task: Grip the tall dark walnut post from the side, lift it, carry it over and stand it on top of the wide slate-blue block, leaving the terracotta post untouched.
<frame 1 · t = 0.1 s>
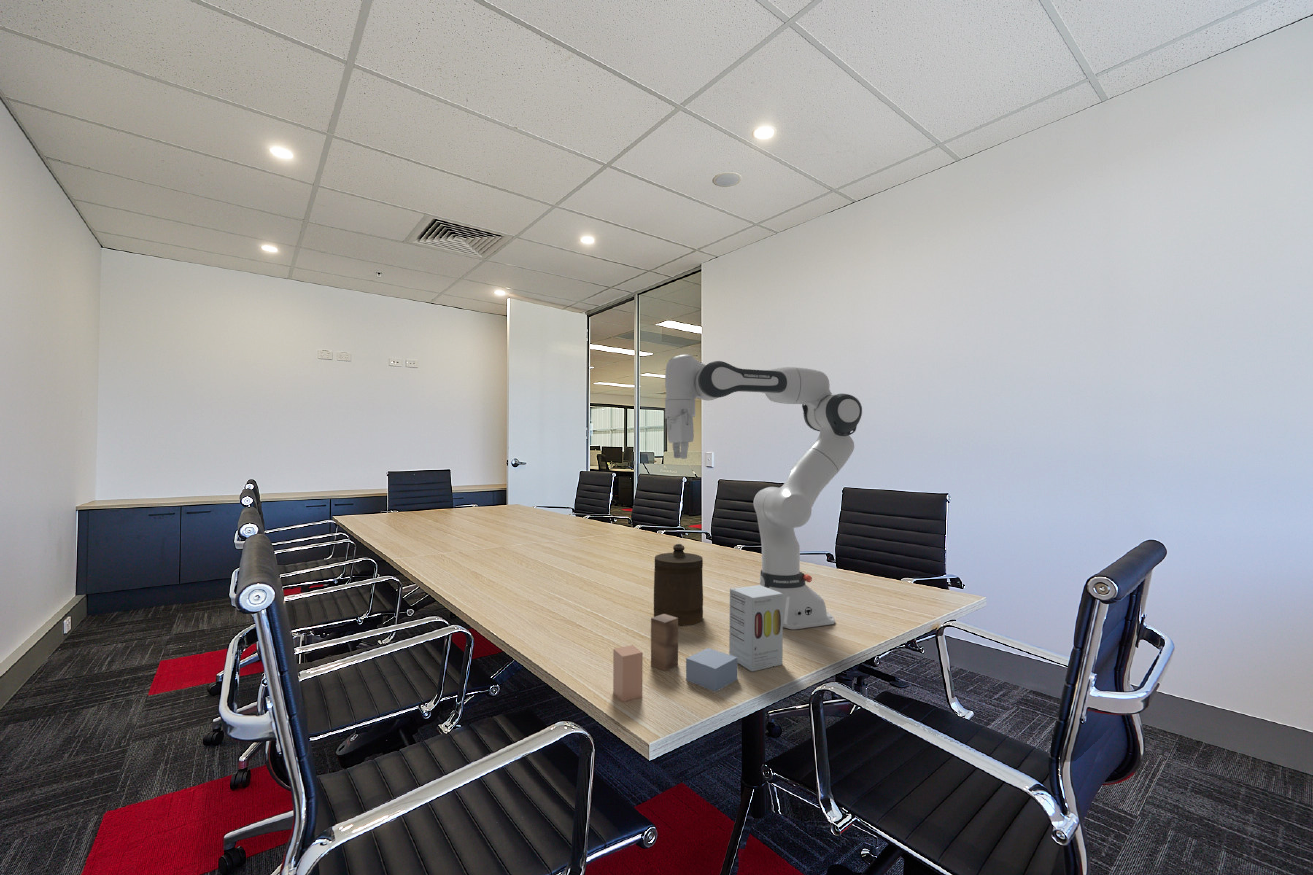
hand: (680, 458, 150), 48 cm above the table, tool pointing down, fingers open, 8 cm apart
wooden container: (678, 618, 155), on the table
supplement box: (755, 662, 123), on the table
terracotta post: (627, 694, 106), on the table
slate block: (711, 680, 113), on the table
walnut post: (664, 665, 121), on the table
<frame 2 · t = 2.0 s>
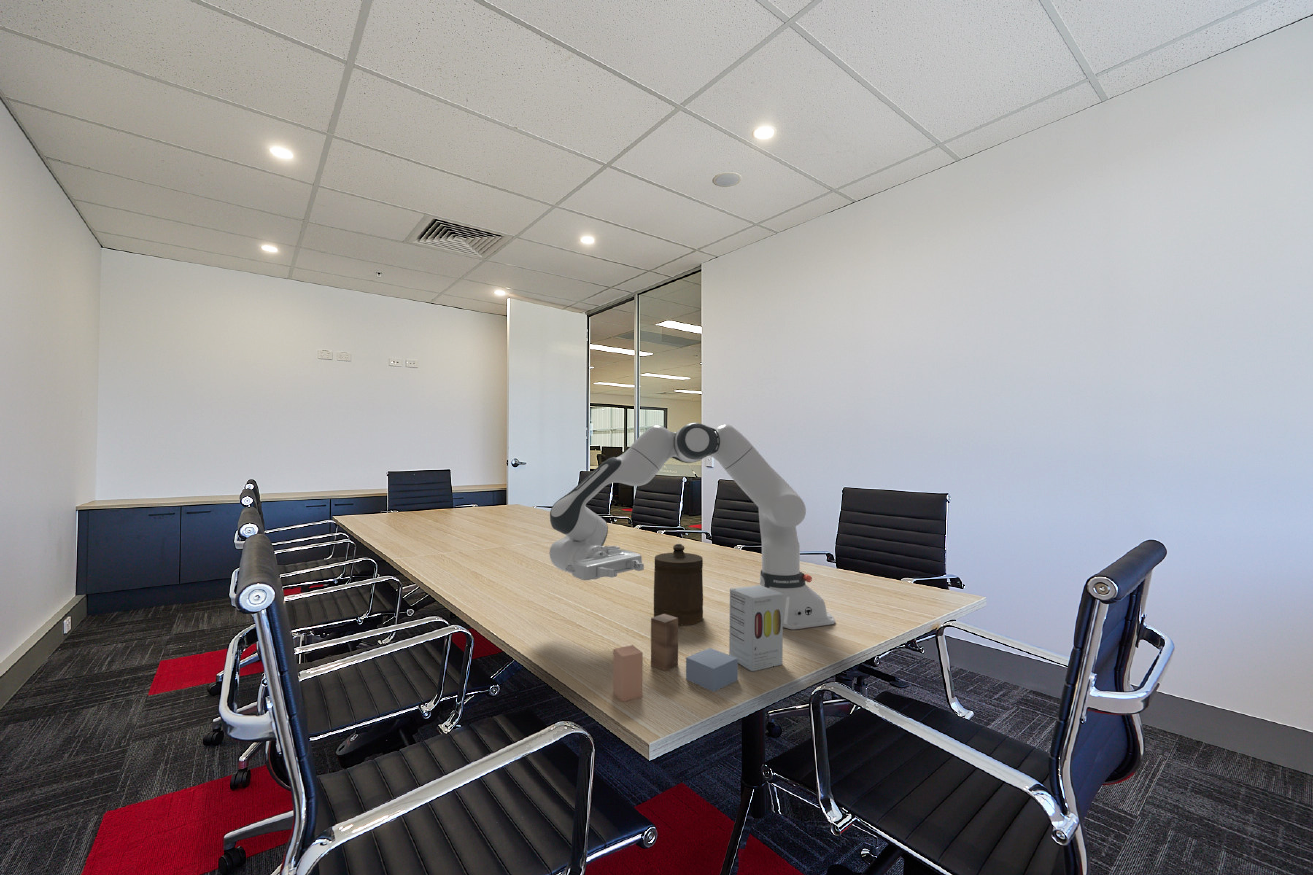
hand: (628, 570, 129), 20 cm above the table, tool horizontal, fingers open, 8 cm apart
nothing on the table moved.
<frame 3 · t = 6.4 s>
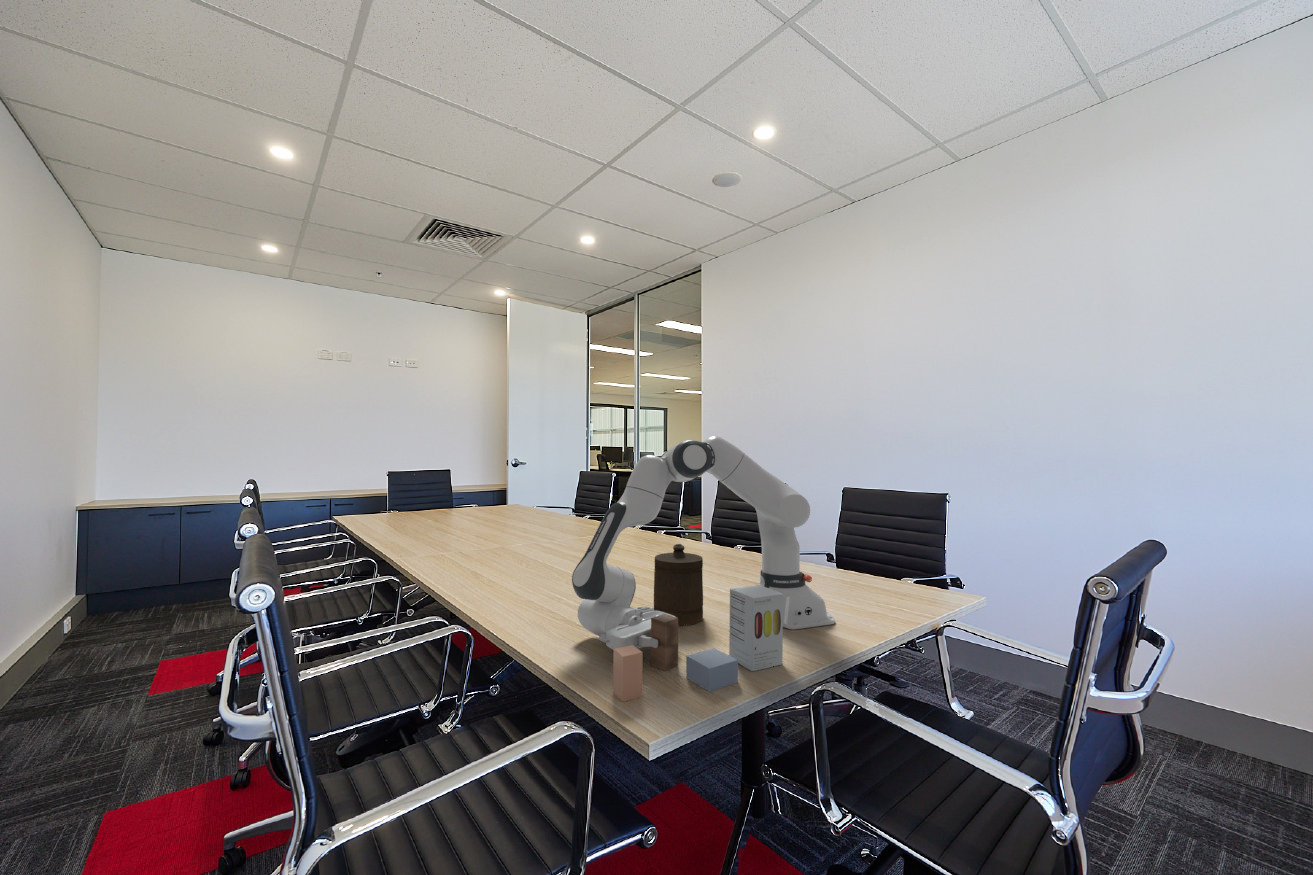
hand: (667, 640, 120), 6 cm above the table, tool horizontal, fingers closed on walnut post, 4 cm apart
walnut post: (664, 665, 121), on the table, touching gripper
everything else where it was.
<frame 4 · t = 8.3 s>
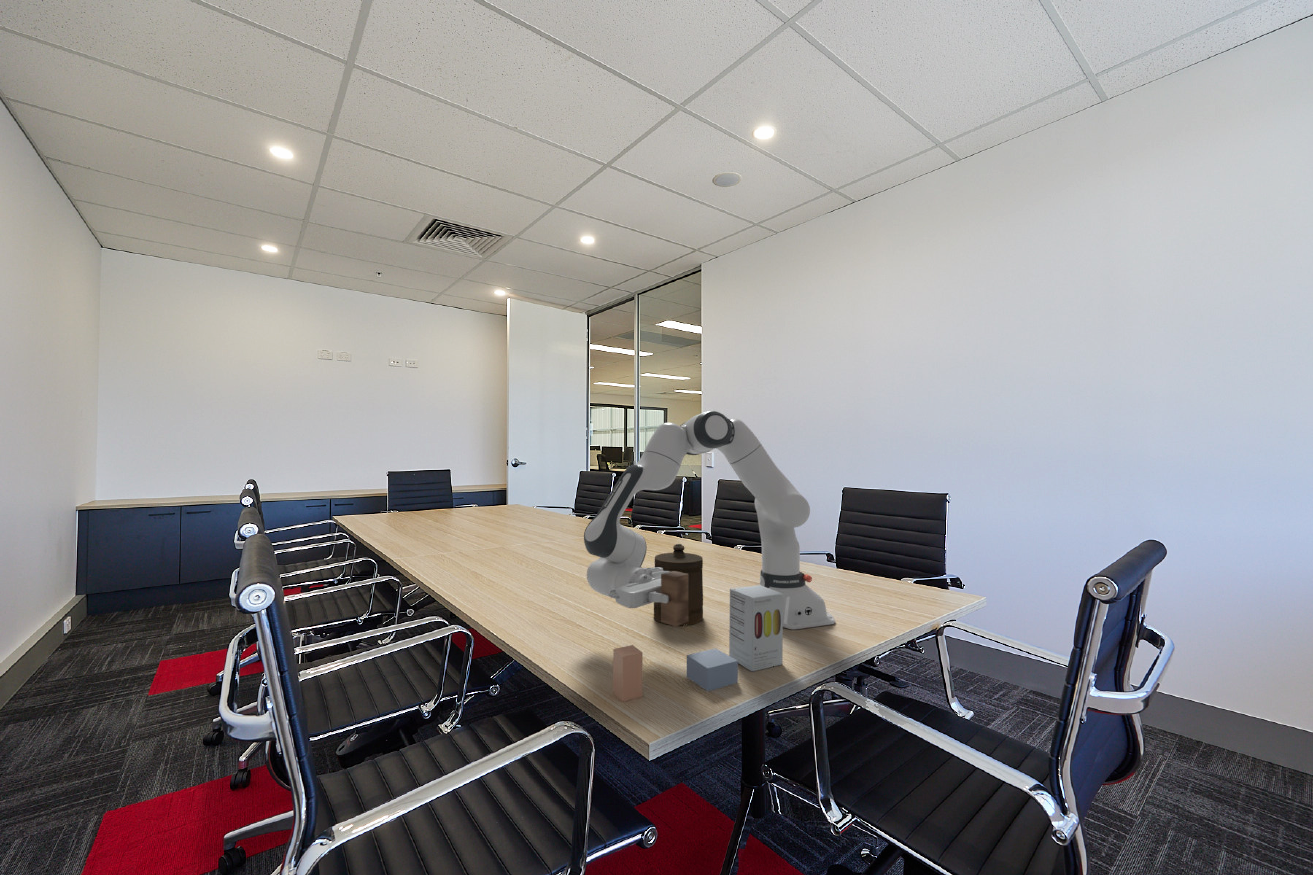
hand: (677, 596, 119), 17 cm above the table, tool horizontal, fingers closed on walnut post, 4 cm apart
walnut post: (674, 621, 120), point 11 cm above the table, touching gripper
everything else where it was.
when the fingers open (12 cm above the table, at t = 10.3 s): walnut post drops 2 cm, point 5 cm above the table.
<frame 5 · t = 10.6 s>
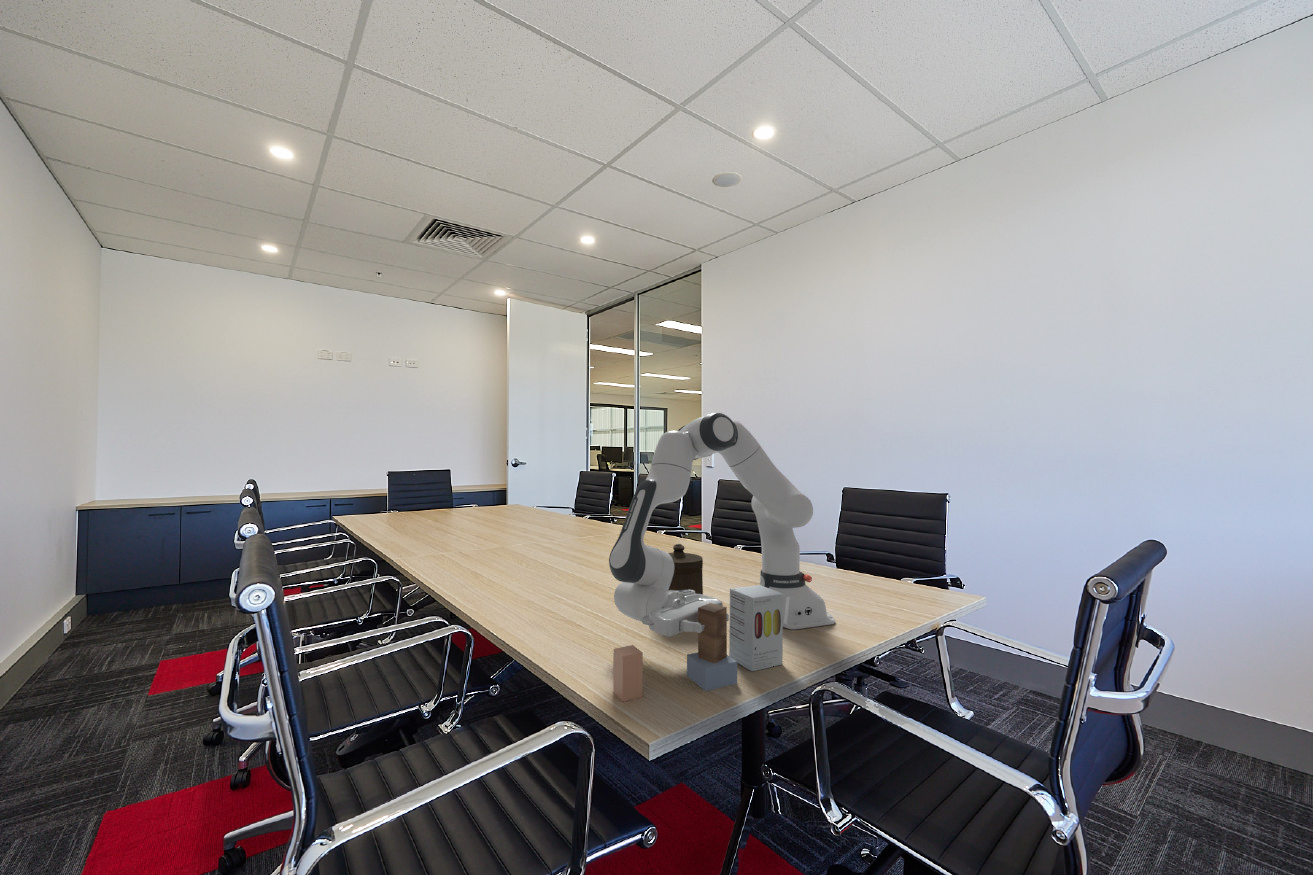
hand: (715, 623, 113), 12 cm above the table, tool horizontal, fingers open, 8 cm apart
walnut post: (712, 657, 114), point 5 cm above the table
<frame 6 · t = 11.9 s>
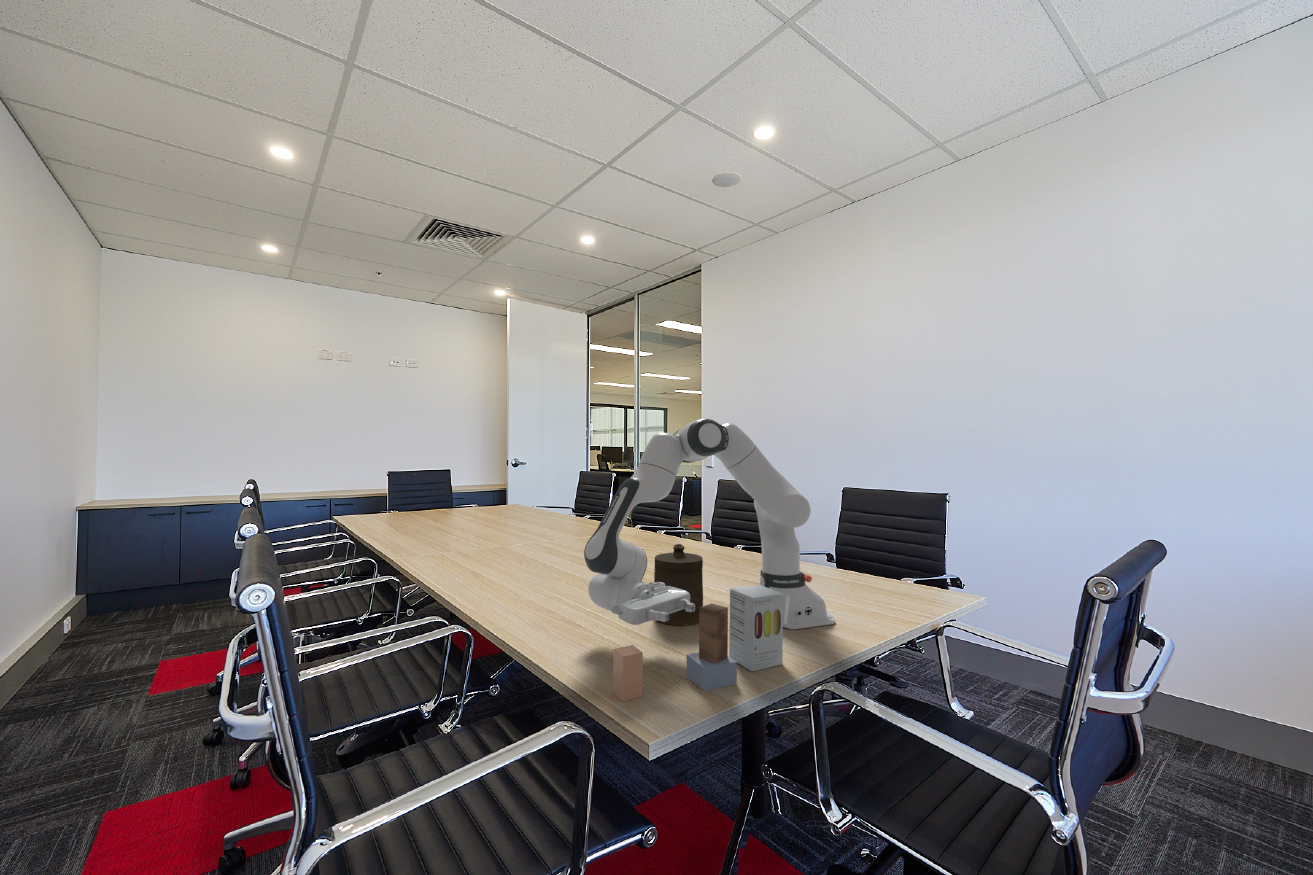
hand: (680, 612, 120), 13 cm above the table, tool horizontal, fingers open, 8 cm apart
slate block: (711, 680, 113), on the table, touching walnut post
walnut post: (713, 657, 113), point 5 cm above the table, touching slate block
everything else where it was.
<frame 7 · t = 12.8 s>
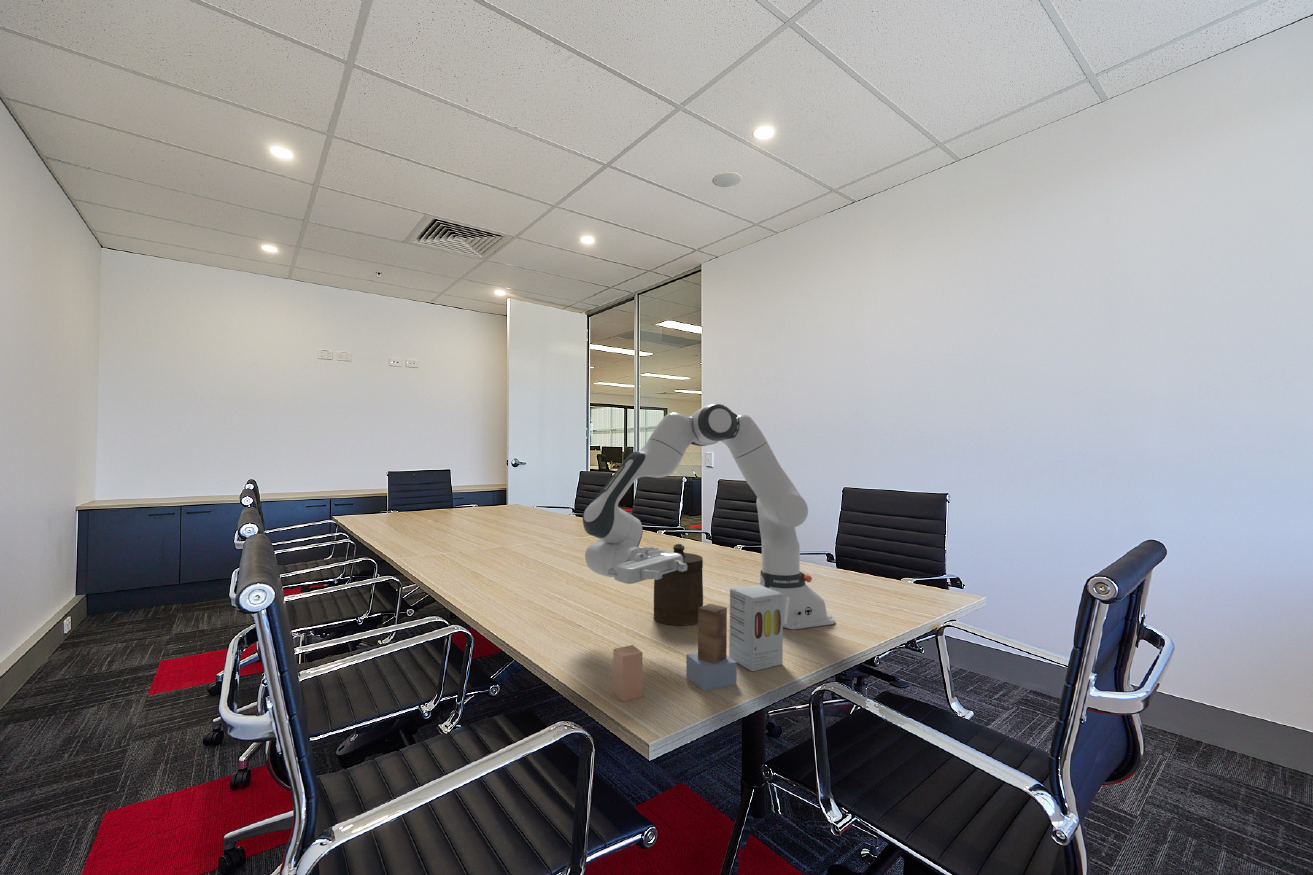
hand: (673, 571, 125), 21 cm above the table, tool horizontal, fingers open, 8 cm apart
nothing on the table moved.
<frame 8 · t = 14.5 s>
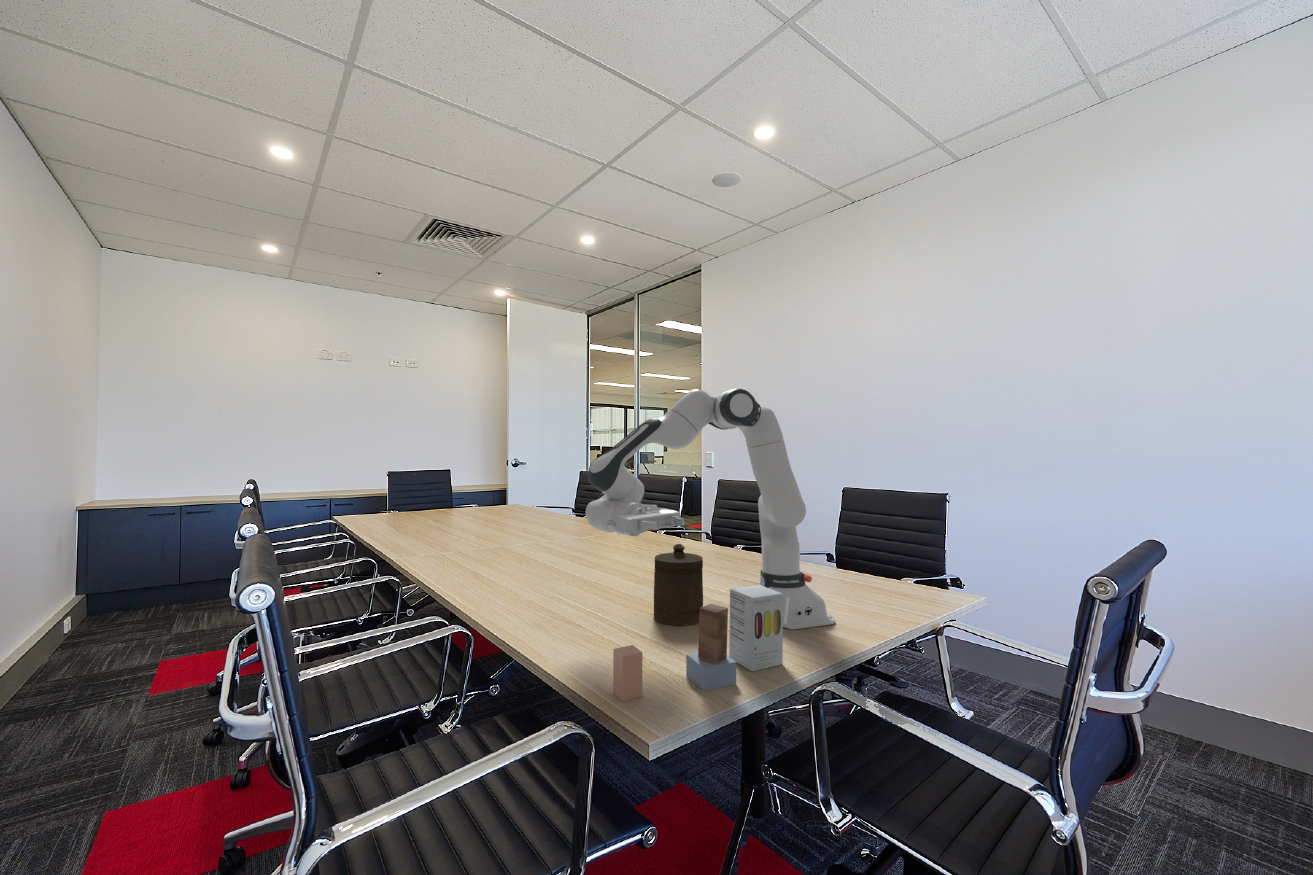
hand: (670, 524, 128), 32 cm above the table, tool horizontal, fingers open, 8 cm apart
nothing on the table moved.
at the end: walnut post 0.4 cm off-centre on the slate block, point 5.0 cm above the slate block's base; walnut post tilted 1°; the gripper is holding nothing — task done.
